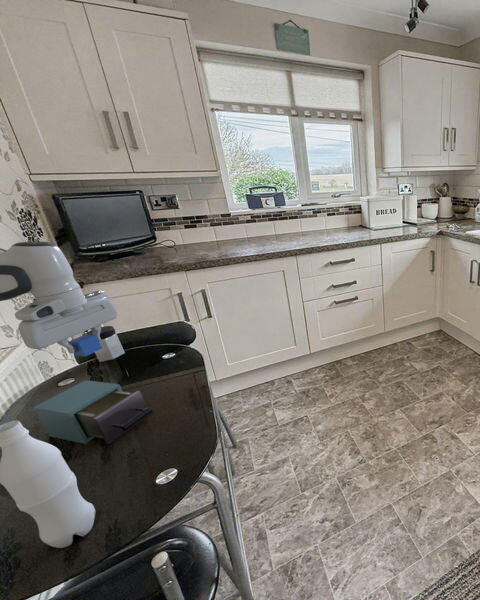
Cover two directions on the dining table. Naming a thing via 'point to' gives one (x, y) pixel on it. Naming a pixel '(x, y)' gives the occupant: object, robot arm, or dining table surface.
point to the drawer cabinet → (71, 409)
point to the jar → (108, 344)
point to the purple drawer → (112, 415)
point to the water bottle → (43, 486)
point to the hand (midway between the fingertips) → (85, 346)
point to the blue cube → (86, 345)
